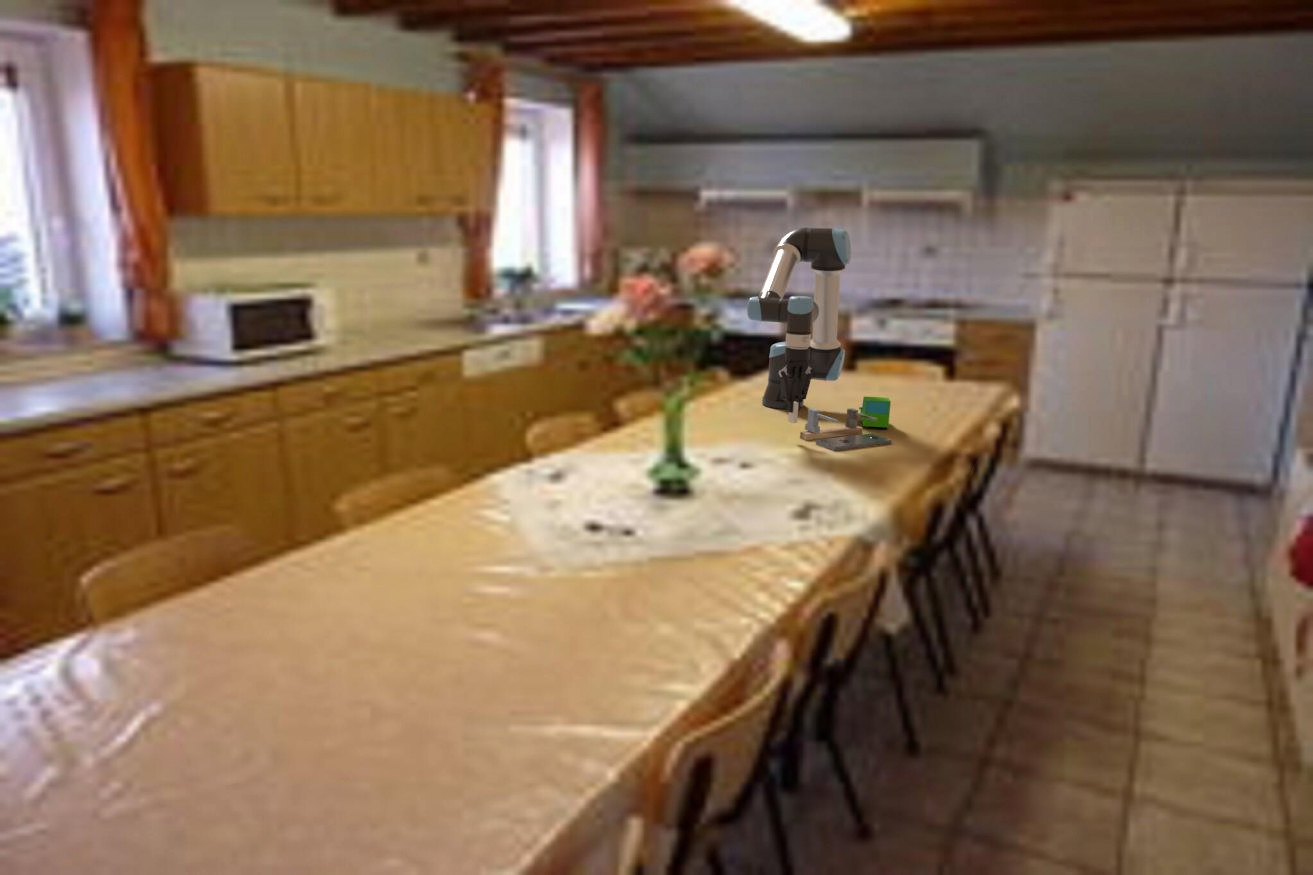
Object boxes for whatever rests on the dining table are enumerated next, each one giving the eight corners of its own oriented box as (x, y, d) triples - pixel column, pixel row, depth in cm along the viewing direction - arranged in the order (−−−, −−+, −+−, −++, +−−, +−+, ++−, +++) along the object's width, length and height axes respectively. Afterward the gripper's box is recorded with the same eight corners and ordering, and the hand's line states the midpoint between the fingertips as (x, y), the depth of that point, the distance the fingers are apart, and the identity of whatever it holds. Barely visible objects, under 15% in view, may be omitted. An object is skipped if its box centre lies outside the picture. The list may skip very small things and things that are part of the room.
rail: (799, 438, 300) (801, 413, 298) (855, 431, 311) (857, 407, 309) (825, 447, 289) (827, 422, 287) (882, 440, 300) (885, 416, 298)
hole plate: (815, 443, 293) (815, 440, 293) (872, 436, 304) (872, 433, 304) (834, 451, 286) (834, 447, 285) (891, 443, 297) (892, 439, 296)
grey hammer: (804, 429, 302) (806, 408, 300) (809, 429, 303) (811, 407, 301) (832, 439, 290) (834, 417, 288) (838, 439, 291) (839, 417, 289)
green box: (885, 421, 326) (888, 393, 324) (891, 431, 313) (893, 401, 311) (856, 420, 327) (858, 392, 325) (859, 429, 314) (862, 400, 312)
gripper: (787, 350, 283) (782, 426, 289) (822, 348, 289) (816, 422, 295) (773, 346, 289) (768, 421, 295) (807, 344, 296) (801, 417, 301)
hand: (792, 421), depth 295 cm, fingers closed
